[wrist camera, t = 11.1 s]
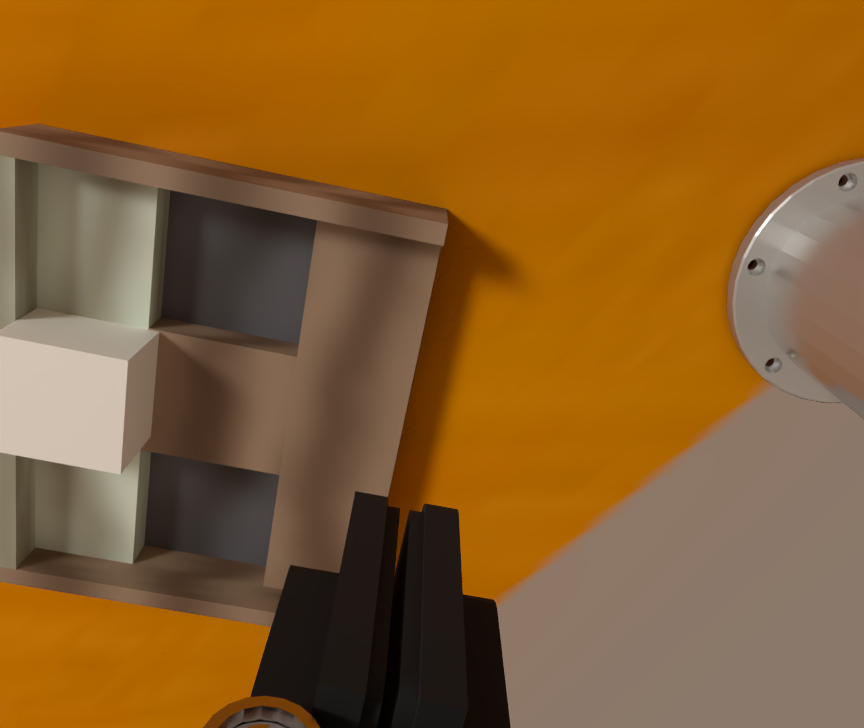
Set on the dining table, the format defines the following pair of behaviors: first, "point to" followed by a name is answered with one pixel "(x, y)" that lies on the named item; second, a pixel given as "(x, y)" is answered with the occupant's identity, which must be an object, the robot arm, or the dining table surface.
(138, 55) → the dining table surface
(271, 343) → the box
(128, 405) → the cream block
